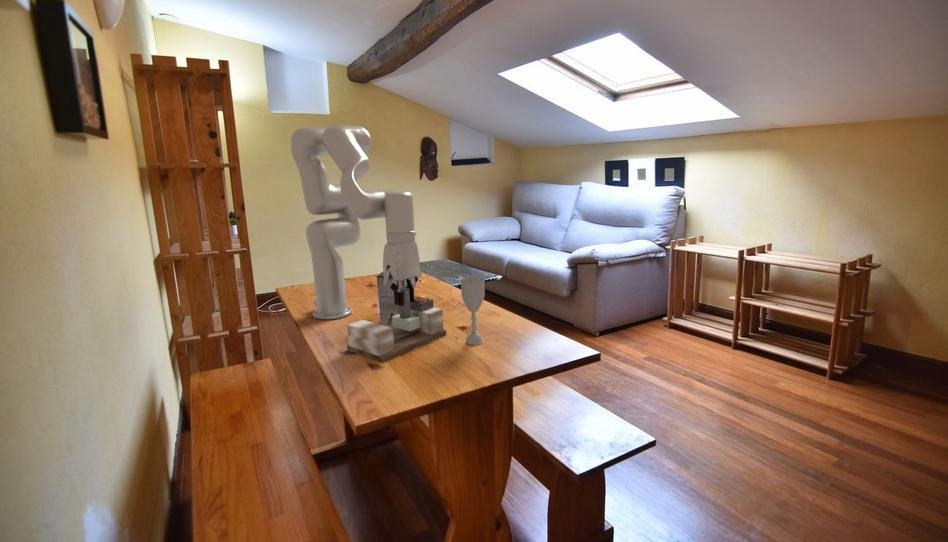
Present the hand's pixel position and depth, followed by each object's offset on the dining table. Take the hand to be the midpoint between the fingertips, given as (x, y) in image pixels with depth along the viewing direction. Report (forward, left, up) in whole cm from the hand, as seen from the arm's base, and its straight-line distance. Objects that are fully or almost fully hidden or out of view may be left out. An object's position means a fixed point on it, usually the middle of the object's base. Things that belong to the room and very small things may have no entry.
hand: (404, 302), depth 136 cm
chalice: (+17, +9, -11) cm, 22 cm away
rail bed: (0, -3, -11) cm, 11 cm away
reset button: (0, +6, -2) cm, 7 cm away
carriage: (0, 0, -7) cm, 7 cm away
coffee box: (-14, +8, -11) cm, 20 cm away
